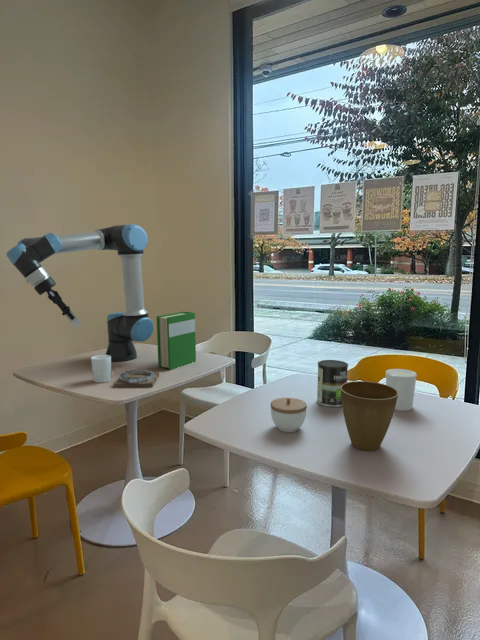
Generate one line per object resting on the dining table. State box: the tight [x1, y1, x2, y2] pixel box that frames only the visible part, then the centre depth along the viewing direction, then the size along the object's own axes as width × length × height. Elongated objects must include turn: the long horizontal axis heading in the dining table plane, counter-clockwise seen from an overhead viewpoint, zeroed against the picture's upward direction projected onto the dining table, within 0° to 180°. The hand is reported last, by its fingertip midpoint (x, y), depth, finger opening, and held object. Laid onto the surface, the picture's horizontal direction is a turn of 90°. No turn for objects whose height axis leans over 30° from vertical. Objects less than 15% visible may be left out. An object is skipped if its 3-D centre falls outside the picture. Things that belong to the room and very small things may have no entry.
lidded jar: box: [270, 397, 308, 433], centre depth 129 cm, size 11×11×9 cm
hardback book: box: [156, 311, 197, 371], centre depth 200 cm, size 18×7×24 cm, turn 145°
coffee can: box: [316, 359, 349, 408], centre depth 150 cm, size 10×10×14 cm
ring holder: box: [113, 369, 160, 388], centre depth 176 cm, size 15×15×3 cm
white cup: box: [90, 354, 112, 384], centre depth 177 cm, size 8×8×10 cm
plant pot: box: [341, 380, 398, 452], centre depth 117 cm, size 15×15×16 cm
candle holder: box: [385, 368, 418, 412], centre depth 146 cm, size 10×10×12 cm
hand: (78, 324), depth 171 cm, fingers open, 13 cm apart
